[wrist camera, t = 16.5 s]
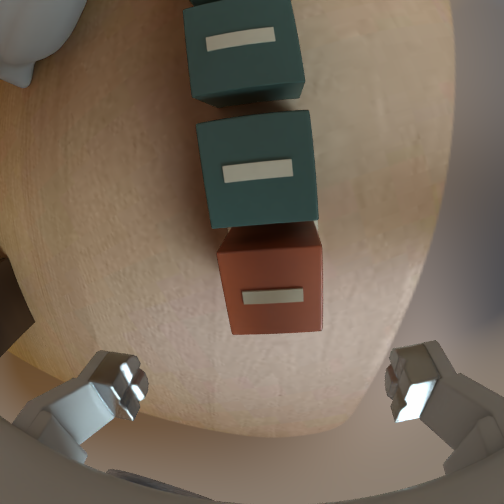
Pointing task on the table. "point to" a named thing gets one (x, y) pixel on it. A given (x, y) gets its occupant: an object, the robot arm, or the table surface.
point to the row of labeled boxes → (251, 126)
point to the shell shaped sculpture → (33, 34)
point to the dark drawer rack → (11, 308)
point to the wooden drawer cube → (273, 278)
